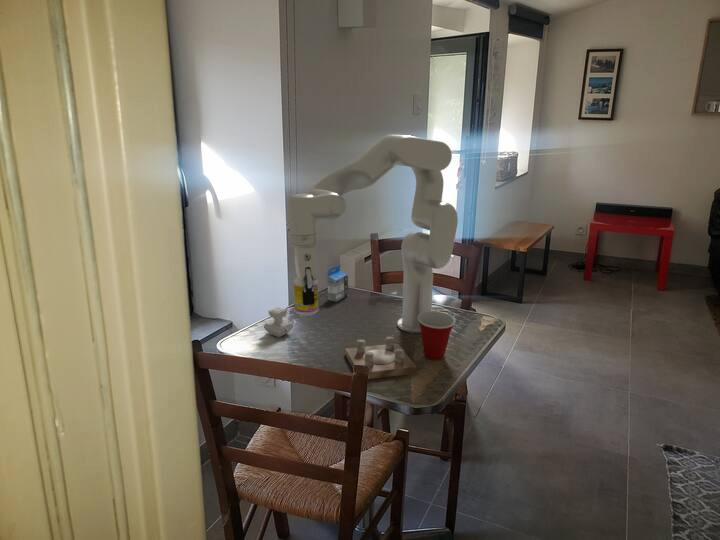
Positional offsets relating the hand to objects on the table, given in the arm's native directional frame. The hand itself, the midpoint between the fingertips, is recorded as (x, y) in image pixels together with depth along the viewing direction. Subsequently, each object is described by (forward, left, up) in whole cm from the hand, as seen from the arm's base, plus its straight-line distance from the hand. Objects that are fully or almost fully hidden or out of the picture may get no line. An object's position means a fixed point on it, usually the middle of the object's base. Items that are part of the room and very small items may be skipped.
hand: (306, 299), depth 153 cm
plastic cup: (-35, +11, -17) cm, 41 cm away
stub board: (-18, +12, -16) cm, 28 cm away
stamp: (+7, -16, -17) cm, 24 cm away
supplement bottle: (0, 0, -4) cm, 4 cm away
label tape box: (-19, -46, -17) cm, 53 cm away
